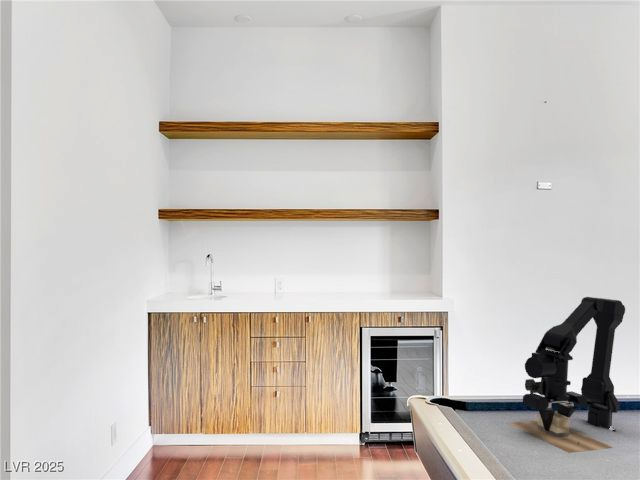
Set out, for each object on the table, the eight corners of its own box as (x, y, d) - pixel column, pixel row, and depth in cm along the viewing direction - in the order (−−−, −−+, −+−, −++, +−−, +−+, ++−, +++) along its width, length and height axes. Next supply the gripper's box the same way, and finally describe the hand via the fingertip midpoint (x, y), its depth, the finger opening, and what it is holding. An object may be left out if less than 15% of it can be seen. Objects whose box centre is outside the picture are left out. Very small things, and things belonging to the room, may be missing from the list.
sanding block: (549, 426, 149) (550, 409, 149) (568, 435, 142) (569, 418, 142) (537, 427, 147) (538, 410, 147) (556, 436, 140) (557, 418, 141)
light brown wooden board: (549, 423, 156) (549, 419, 156) (613, 452, 135) (613, 447, 135) (507, 426, 150) (508, 422, 150) (568, 457, 130) (568, 452, 130)
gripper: (558, 367, 156) (555, 418, 155) (510, 369, 149) (507, 422, 149) (589, 377, 145) (586, 431, 145) (539, 379, 138) (535, 436, 138)
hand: (553, 430), depth 144 cm, fingers closed on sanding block, 4 cm apart
